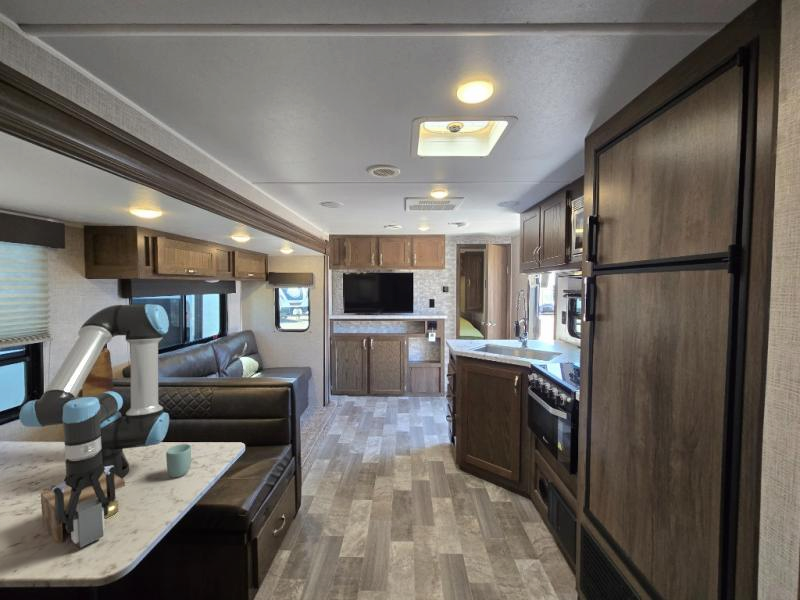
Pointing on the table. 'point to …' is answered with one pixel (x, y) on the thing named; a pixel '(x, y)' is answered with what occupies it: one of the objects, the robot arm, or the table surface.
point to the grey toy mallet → (89, 521)
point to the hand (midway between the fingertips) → (88, 534)
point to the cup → (178, 460)
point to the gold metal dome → (112, 509)
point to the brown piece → (49, 504)
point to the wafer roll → (99, 376)
